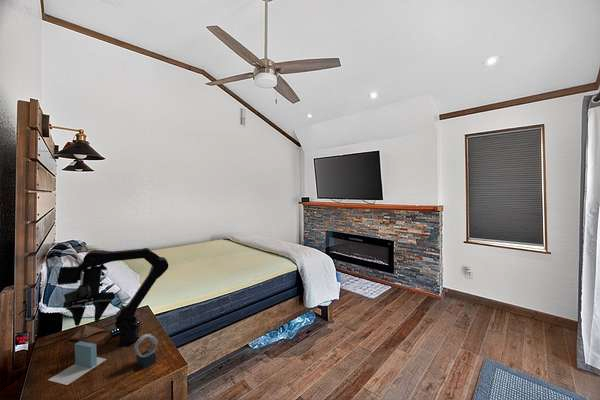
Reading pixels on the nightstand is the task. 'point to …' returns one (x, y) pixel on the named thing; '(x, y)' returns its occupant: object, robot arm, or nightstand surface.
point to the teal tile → (85, 354)
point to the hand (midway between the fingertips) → (86, 323)
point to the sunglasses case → (92, 335)
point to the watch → (146, 352)
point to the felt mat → (73, 373)
